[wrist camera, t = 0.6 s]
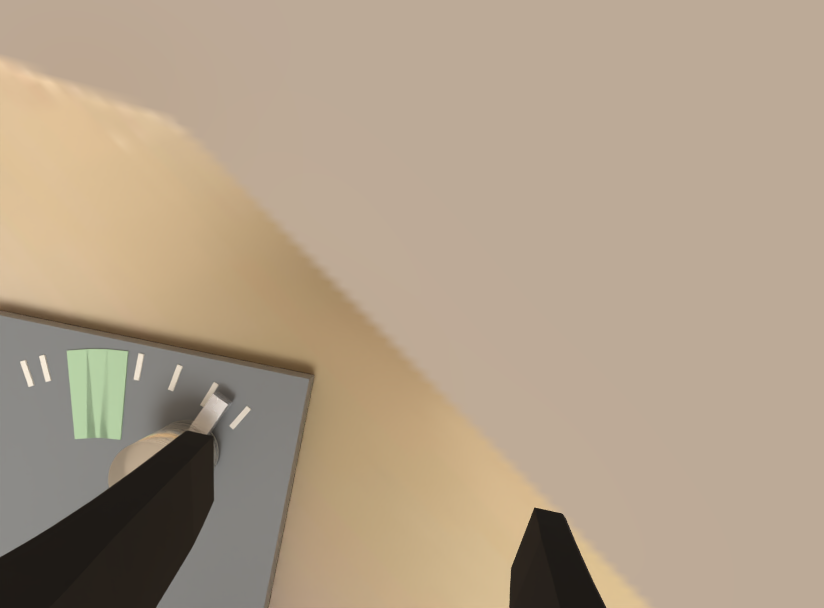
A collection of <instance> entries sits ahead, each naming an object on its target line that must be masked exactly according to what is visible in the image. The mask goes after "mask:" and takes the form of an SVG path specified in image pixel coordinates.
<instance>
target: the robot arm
mask: <svg viewBox="0 0 824 608" xmlns="http://www.w3.org/2000/svg"><path fill="white" fill-rule="evenodd" d="M213 502H214V438H213V436H211V435H206V434H202V433H197V432H193V431H188V430H187V431H185V432H183V433H182V434H181V435H179V436H178V437H177V438H175V439H174V440H173V441H171V442H170V443H169V444H167V445H166V446H165V447H164V448H162V449H161V450H160V451H158V452H157V453H156V454H154V455H153V456H152V457H150V458H149V459H148V460H147V461H145V462H144V463H143V464H141V465H140V466H139V467H137V468H136V469H135V470H133V471H132V472H130V473H129V474H128V475H126V476H125V477H124V478H122V479H121V480H119V481H118V482H117V483H115V484H114V485H112V486H111V487H110V488H108V489H107V490H105V491H104V492H103V493H101V494H100V495H98V496H97V497H96V498H94V499H93V500H91V501H90V502H88V503H87V504H85V505H84V506H82V507H81V508H79V509H78V510H76V511H75V512H73V513H72V514H70V515H68V516H67V517H65V518H64V519H62V520H61V521H59V522H58V523H56V524H55V525H53V526H52V527H50V528H48V529H47V530H45V531H44V532H42V533H40V534H39V535H37V536H35V537H34V538H32V539H30V540H29V541H27V542H25V543H24V544H22V545H20V546H19V547H17V548H15V549H13V550H12V551H10V552H8V553H6V554H5V555H3V556H1V557H0V608H156V607H157V605H158V604H159V602H160V600H161V599H162V597H163V595H164V594H165V592H166V591H167V589H168V587H169V586H170V584H171V582H172V581H173V579H174V577H175V576H176V574H177V572H178V571H179V569H180V567H181V566H182V564H183V562H184V561H185V559H186V557H187V556H188V554H189V552H190V551H191V549H192V547H193V545H194V544H195V541H196V539H197V537H198V535H199V533H200V531H201V529H202V527H203V525H204V522H205V520H206V518H207V516H208V513H209V511H210V509H211V507H212V504H213ZM509 608H606V606H605V604H604V602H603V600H602V598H601V596H600V594H599V592H598V590H597V588H596V586H595V584H594V582H593V580H592V578H591V575H590V573H589V571H588V569H587V567H586V564H585V562H584V560H583V558H582V556H581V553H580V551H579V549H578V546H577V544H576V542H575V540H574V537H573V535H572V532H571V530H570V528H569V525H568V523H567V520H566V518H565V517H564V515H563V514H561V513H557V512H552V511H548V510H543V509H539V508H534V510H533V513H532V516H531V518H530V521H529V523H528V526H527V528H526V531H525V534H524V536H523V539H522V541H521V544H520V547H519V549H518V552H517V554H516V557H515V560H514V562H513V565H512V567H511V581H510V605H509Z"/></svg>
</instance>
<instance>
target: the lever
mask: <svg viewBox="0 0 824 608" xmlns="http://www.w3.org/2000/svg"><path fill="white" fill-rule="evenodd" d="M232 402H233V401H231V400H230V399H228V398H227V397H226V396H224V395H223V394H221V393H220V392H219V391H218V392H216V393H214V394H213V395H212V396H211V397H210V399H209V400H208V402H207V403H206V404H205V406H204V407H203V409H202V410H201V412H200V413H199V414H198V416H197V417H196V419H195V420H179V421H175V422H173V423H171V424H169V425H167V426H165V427H163V428H161V429H160V430H158V431H156V432H154V433H152V434H150V435H148V436H146V437H144V438H143V439H141V440H139V441H137V442H135V443H133V444H131V445H129V446H127V447H126V448H124V449H123V450H121V451H120V452H119V453H118V454H117V456H116V457H115V458H114V460H113V462H112V464H111V466H110V469H109V474H108V484H109V488H110V487H111V486H112V485H114V484H115V483H117V482H118V481H119V480H121V479H122V478H124V477H125V476H126V475H128V474H129V473H130V472H132V471H133V470H135V469H136V468H137V467H139V466H140V465H141V464H143V463H144V462H145V461H147V460H148V459H149V458H150V457H152V456H153V455H154V454H156V453H157V452H158V451H160V450H161V449H162V448H164V447H165V446H166V445H167V444H169V443H170V442H171V441H173V440H174V439H175V438H177V437H178V436H179V435H181V434H182V433H183V432H185V431H187V430H188V431H193V432H197V433H202V434H206V435H211V436H213V438H214V468H215V466H216V464H217V461H218V456H219V449H218V443H217V441H216V438H215V436H214V435H213V433H212V431H213V429H214V428H215V427H216V425H217V424H218V422H219V421H220V419H221V418H222V417H223V415H224V414H225V412H226V411H227V410H228V408H229V407H230V405H231V404H232Z"/></svg>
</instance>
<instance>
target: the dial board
mask: <svg viewBox="0 0 824 608" xmlns="http://www.w3.org/2000/svg"><path fill="white" fill-rule="evenodd" d="M313 380H314V375H311V374H307V373H302V372H297V371H292V370H287V369H282V368H278V367H273V366H268V365H263V364H258V363H253V362H248V361H244V360H239V359H234V358H229V357H224V356H219V355H214V354H210V353H205V352H200V351H195V350H190V349H185V348H181V347H176V346H171V345H166V344H161V343H156V342H151V341H147V340H142V339H137V338H132V337H127V336H122V335H117V334H113V333H108V332H103V331H98V330H93V329H88V328H83V327H79V326H74V325H69V324H64V323H59V322H54V321H50V320H45V319H40V318H35V317H30V316H25V315H20V314H16V313H11V312H6V311H1V310H0V557H1V556H3V555H5V554H6V553H8V552H10V551H12V550H13V549H15V548H17V547H19V546H20V545H22V544H24V543H25V542H27V541H29V540H30V539H32V538H34V537H35V536H37V535H39V534H40V533H42V532H44V531H45V530H47V529H48V528H50V527H52V526H53V525H55V524H56V523H58V522H59V521H61V520H62V519H64V518H65V517H67V516H68V515H70V514H72V513H73V512H75V511H76V510H78V509H79V508H81V507H82V506H84V505H85V504H87V503H88V502H90V501H91V500H93V499H94V498H96V497H97V496H98V495H100V494H101V493H103V492H104V491H105V490H107V489H108V488H109V484H108V474H109V469H110V466H111V464H112V462H113V460H114V458H115V457H116V456H117V454H118V453H119V452H120V451H121V450H123V449H124V448H126V447H127V446H129V445H131V444H133V443H135V442H137V441H139V440H141V439H143V438H144V437H146V436H148V435H150V434H152V433H154V432H156V431H158V430H160V429H161V428H163V427H165V426H167V425H169V424H171V423H173V422H175V421H179V420H195V419H196V417H197V416H198V414H199V413H200V412H201V410H202V409H203V407H204V406H205V404H206V403H207V402H208V400H209V399H210V397H211V396H212V395H213V394H214V393H216V392H218V391H219V392H220V393H221V394H223V395H224V396H226V397H227V398H228V399H230V400H231V401H233V402H232V404H231V405H230V407H229V408H228V410H227V411H226V412H225V414H224V415H223V417H222V418H221V419H220V421H219V422H218V424H217V425H216V427H215V428H214V429H213V431H212V433H213V435H214V436H215V438H216V441H217V443H218V449H219V456H218V461H217V464H216V466H215V468H214V502H213V504H212V507H211V509H210V511H209V513H208V516H207V518H206V520H205V522H204V525H203V527H202V529H201V531H200V533H199V535H198V537H197V539H196V541H195V544H194V545H193V547H192V549H191V551H190V552H189V554H188V556H187V557H186V559H185V561H184V562H183V564H182V566H181V567H180V569H179V571H178V572H177V574H176V576H175V577H174V579H173V581H172V582H171V584H170V586H169V587H168V589H167V591H166V592H165V594H164V595H163V597H162V599H161V600H160V602H159V604H158V605H157V607H156V608H268V605H269V600H270V595H271V590H272V585H273V580H274V575H275V570H276V565H277V560H278V555H279V550H280V545H281V540H282V535H283V530H284V525H285V520H286V515H287V510H288V505H289V500H290V495H291V490H292V485H293V480H294V475H295V470H296V465H297V460H298V455H299V450H300V445H301V440H302V435H303V430H304V425H305V420H306V415H307V410H308V405H309V400H310V395H311V390H312V385H313Z"/></svg>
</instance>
